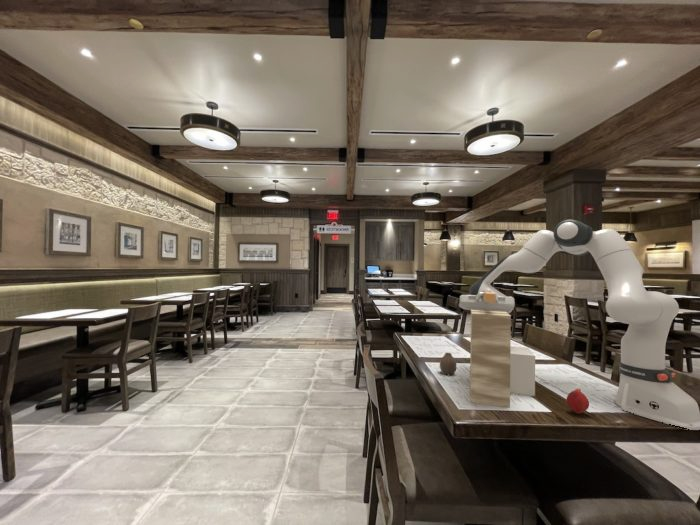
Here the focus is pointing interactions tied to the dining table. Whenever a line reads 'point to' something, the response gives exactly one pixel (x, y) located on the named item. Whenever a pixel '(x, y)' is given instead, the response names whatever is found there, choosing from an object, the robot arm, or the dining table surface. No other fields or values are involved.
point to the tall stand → (490, 357)
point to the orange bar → (489, 296)
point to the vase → (448, 364)
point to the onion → (577, 401)
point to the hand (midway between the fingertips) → (487, 294)
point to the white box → (522, 371)
